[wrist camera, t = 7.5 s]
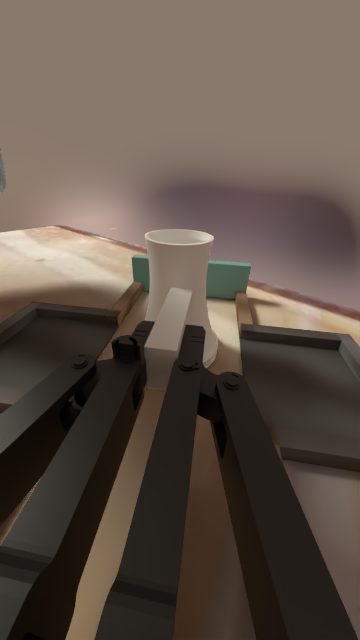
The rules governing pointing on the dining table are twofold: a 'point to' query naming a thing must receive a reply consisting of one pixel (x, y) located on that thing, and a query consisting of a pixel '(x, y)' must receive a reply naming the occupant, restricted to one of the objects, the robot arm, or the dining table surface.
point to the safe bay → (219, 276)
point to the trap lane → (258, 368)
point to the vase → (181, 276)
